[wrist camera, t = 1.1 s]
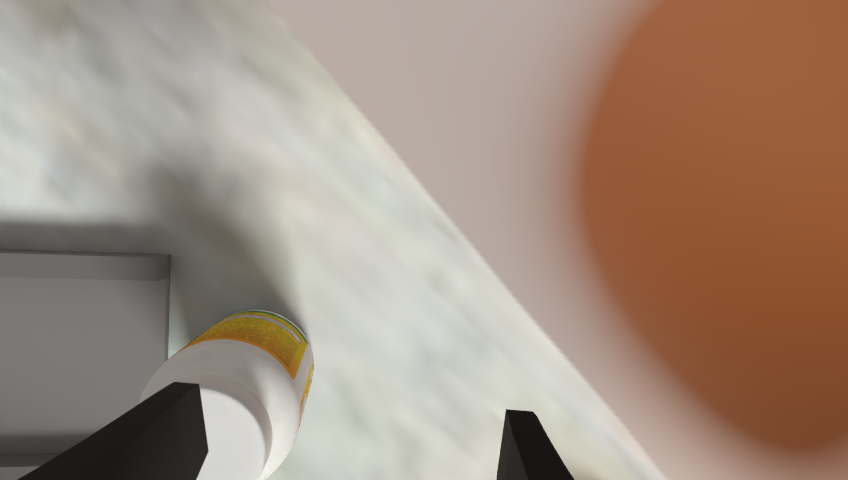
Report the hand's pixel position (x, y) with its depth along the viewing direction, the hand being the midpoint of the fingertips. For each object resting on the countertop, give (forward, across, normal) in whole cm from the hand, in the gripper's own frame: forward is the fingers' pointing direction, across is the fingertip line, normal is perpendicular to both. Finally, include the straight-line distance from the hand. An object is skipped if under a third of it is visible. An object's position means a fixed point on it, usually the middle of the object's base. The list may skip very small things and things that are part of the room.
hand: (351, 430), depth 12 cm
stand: (+9, +16, +6) cm, 19 cm away
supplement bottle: (+10, +7, +6) cm, 14 cm away
